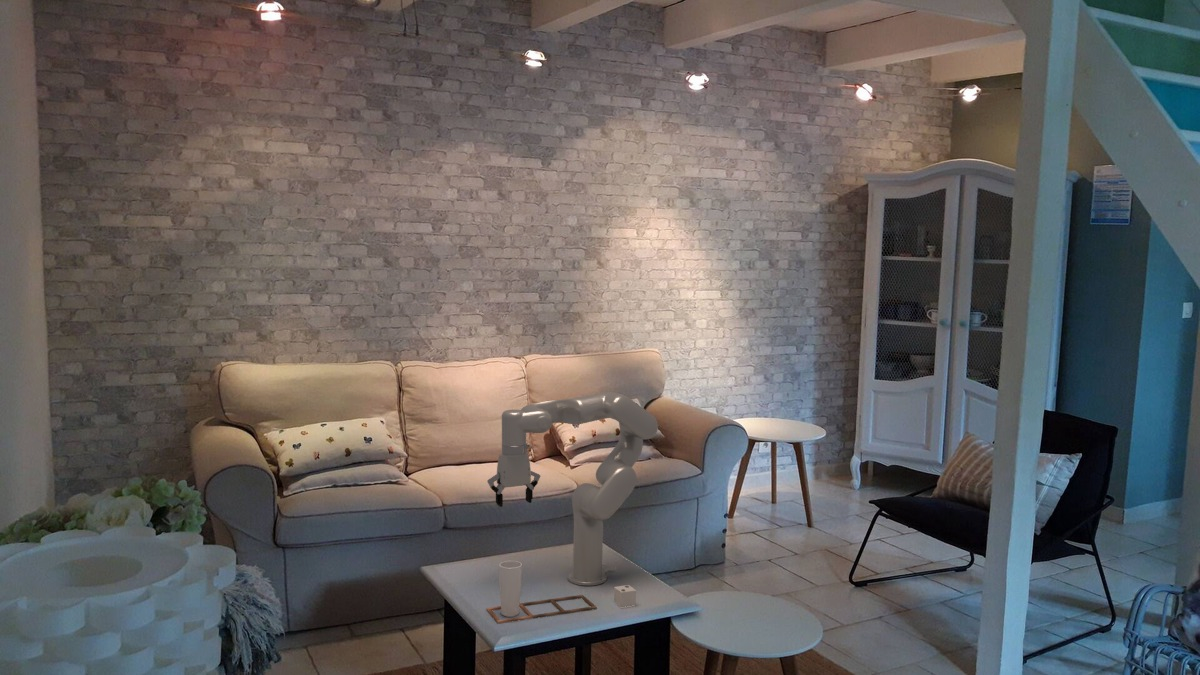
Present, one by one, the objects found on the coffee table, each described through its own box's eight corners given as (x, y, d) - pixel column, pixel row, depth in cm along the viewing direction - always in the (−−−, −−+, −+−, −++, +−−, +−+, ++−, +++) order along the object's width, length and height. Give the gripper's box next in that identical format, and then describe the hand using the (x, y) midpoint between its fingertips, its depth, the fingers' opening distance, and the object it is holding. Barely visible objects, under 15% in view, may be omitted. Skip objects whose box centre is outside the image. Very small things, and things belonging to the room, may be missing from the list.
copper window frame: (582, 596, 282) (582, 594, 282) (596, 609, 272) (596, 607, 272) (486, 610, 269) (486, 608, 269) (497, 623, 259) (497, 621, 259)
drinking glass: (498, 609, 270) (499, 560, 269) (521, 609, 270) (522, 560, 269) (498, 618, 263) (498, 568, 262) (521, 618, 264) (522, 568, 262)
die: (628, 600, 280) (628, 584, 279) (635, 606, 275) (636, 589, 275) (613, 602, 278) (614, 586, 277) (620, 608, 273) (621, 592, 273)
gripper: (534, 444, 289) (535, 497, 291) (483, 450, 281) (483, 504, 283) (544, 449, 282) (544, 503, 284) (492, 454, 274) (492, 510, 276)
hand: (514, 503), depth 283 cm, fingers open, 9 cm apart
